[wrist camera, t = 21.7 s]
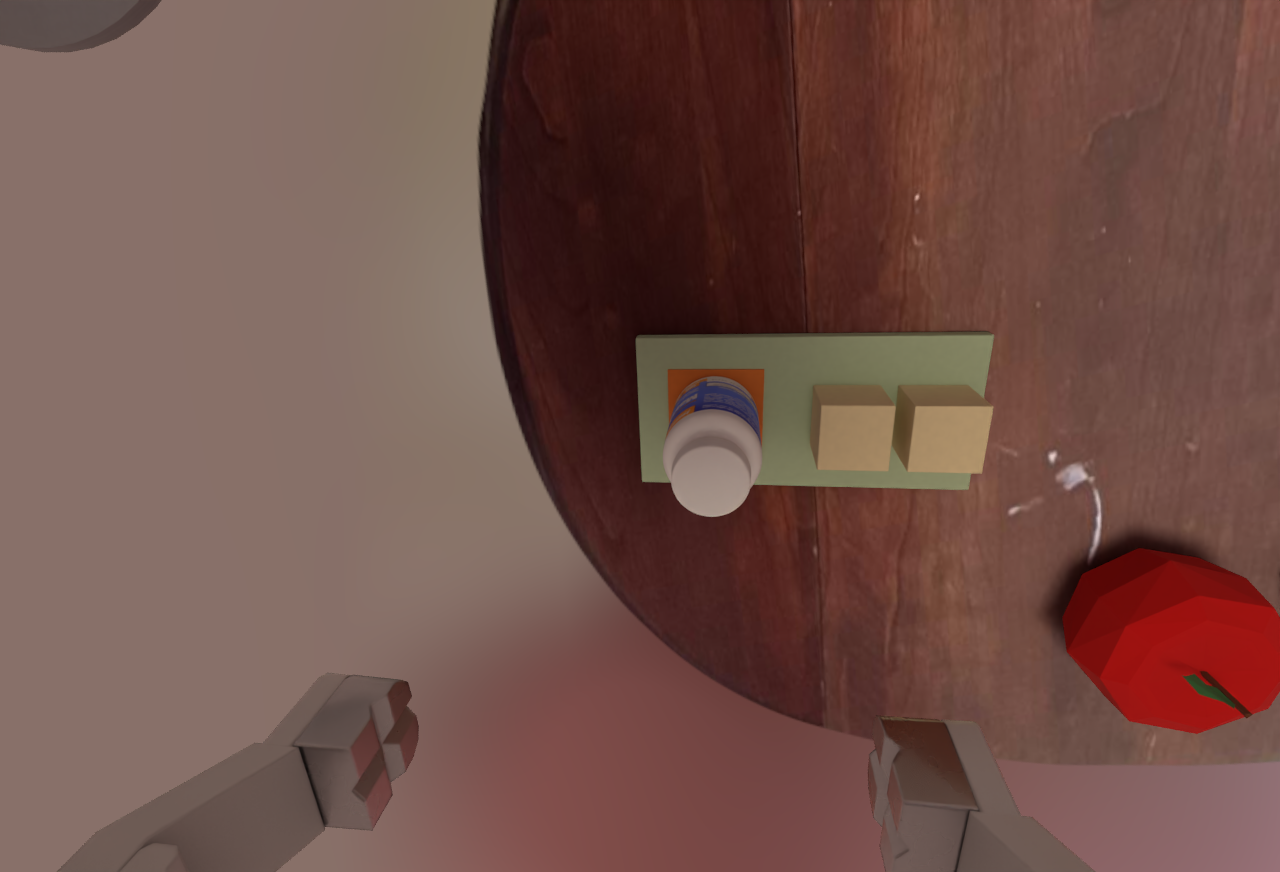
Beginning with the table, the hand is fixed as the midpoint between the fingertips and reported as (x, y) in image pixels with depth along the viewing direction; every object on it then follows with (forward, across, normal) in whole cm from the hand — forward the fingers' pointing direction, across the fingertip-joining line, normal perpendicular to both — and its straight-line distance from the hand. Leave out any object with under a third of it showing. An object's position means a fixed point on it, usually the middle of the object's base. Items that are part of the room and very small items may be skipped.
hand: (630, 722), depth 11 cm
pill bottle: (+30, -1, +5) cm, 30 cm away
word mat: (+31, -6, +5) cm, 32 cm away
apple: (+31, -28, +18) cm, 46 cm away
